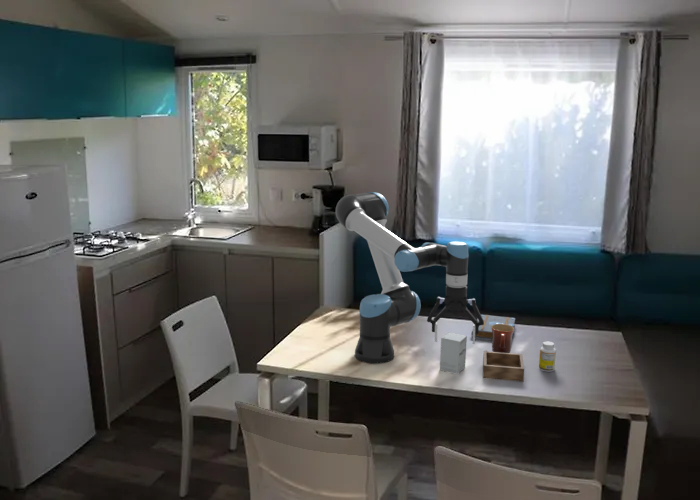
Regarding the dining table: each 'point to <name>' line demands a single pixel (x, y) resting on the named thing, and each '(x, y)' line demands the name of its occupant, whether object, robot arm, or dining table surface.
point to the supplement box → (453, 353)
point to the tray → (503, 366)
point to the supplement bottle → (547, 357)
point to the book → (486, 329)
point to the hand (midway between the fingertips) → (454, 341)
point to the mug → (502, 338)
